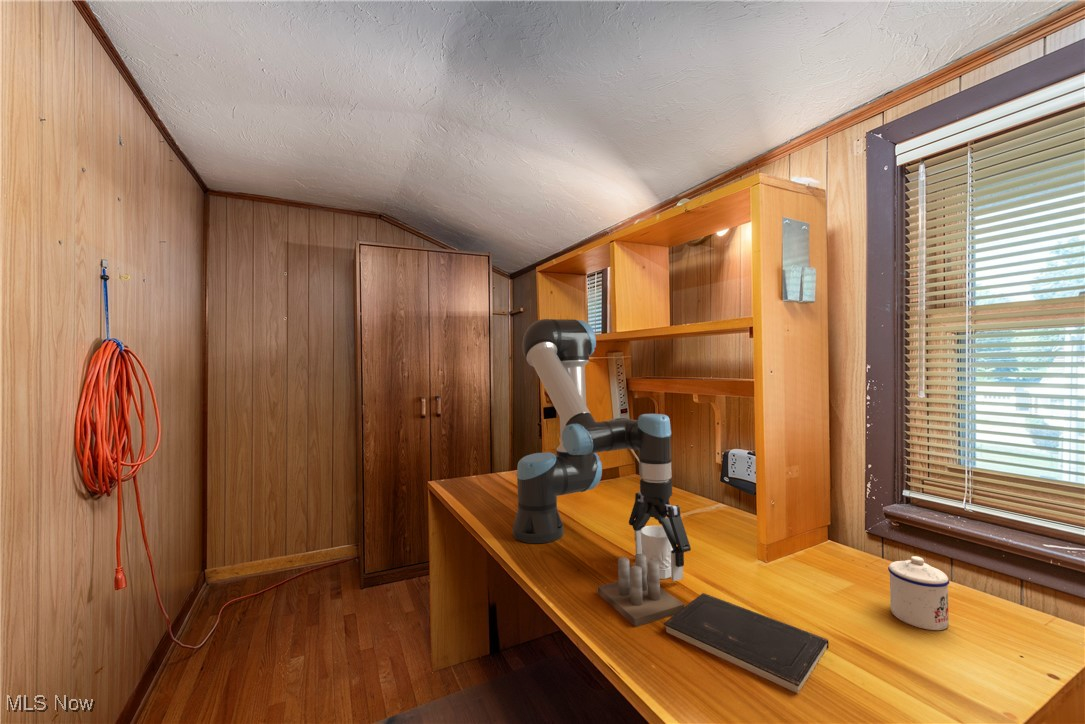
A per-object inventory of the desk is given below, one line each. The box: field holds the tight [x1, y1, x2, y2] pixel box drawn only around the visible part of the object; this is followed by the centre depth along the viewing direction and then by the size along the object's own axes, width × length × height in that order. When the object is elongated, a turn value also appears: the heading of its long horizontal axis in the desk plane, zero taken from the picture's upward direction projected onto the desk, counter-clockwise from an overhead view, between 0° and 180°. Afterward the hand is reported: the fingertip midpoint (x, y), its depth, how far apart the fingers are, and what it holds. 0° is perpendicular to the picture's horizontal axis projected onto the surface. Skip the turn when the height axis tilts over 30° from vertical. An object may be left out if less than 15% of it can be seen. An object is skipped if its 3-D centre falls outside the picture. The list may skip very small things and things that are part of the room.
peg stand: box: [597, 553, 685, 628], centre depth 95 cm, size 14×12×8 cm
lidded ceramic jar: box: [887, 555, 950, 631], centre depth 88 cm, size 12×9×12 cm
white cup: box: [640, 525, 673, 580], centre depth 108 cm, size 8×8×10 cm
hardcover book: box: [663, 592, 829, 694], centre depth 82 cm, size 16×23×2 cm
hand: (658, 567), depth 108 cm, fingers open, 13 cm apart
